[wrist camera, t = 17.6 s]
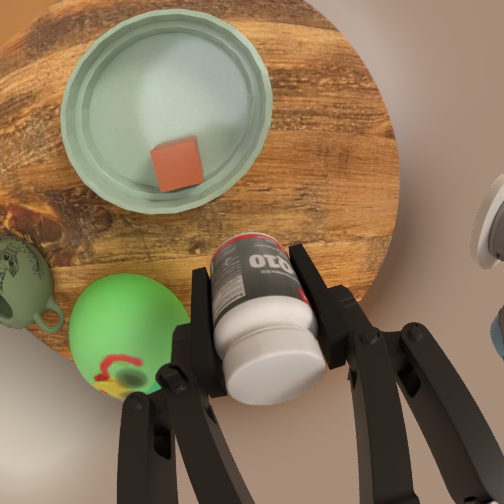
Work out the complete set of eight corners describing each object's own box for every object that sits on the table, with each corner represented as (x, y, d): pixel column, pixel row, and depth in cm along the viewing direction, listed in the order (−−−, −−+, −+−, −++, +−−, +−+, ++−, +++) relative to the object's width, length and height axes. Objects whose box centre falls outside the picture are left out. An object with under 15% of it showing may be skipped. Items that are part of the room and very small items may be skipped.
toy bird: (91, 234, 29) (41, 319, 17) (217, 272, 35) (229, 368, 22) (85, 330, 37) (63, 407, 24) (182, 355, 42) (183, 435, 30)
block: (195, 134, 25) (194, 140, 22) (203, 171, 27) (203, 182, 24) (157, 144, 25) (149, 151, 21) (166, 180, 27) (160, 193, 24)
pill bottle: (301, 254, 17) (358, 361, 10) (254, 304, 19) (282, 414, 12) (240, 214, 15) (274, 328, 8) (194, 274, 17) (195, 396, 10)
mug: (-7, 276, 29) (-31, 311, 21) (0, 213, 24) (-35, 245, 17) (66, 323, 36) (51, 364, 28) (86, 269, 31) (63, 313, 24)
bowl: (240, 6, 19) (247, -10, 15) (276, 170, 29) (289, 184, 25) (65, 65, 18) (43, 62, 14) (113, 217, 29) (100, 237, 24)
